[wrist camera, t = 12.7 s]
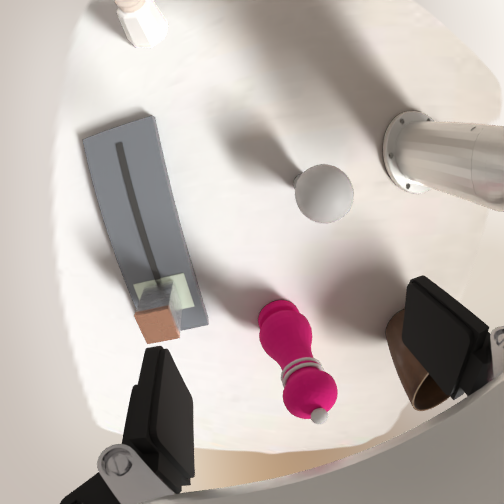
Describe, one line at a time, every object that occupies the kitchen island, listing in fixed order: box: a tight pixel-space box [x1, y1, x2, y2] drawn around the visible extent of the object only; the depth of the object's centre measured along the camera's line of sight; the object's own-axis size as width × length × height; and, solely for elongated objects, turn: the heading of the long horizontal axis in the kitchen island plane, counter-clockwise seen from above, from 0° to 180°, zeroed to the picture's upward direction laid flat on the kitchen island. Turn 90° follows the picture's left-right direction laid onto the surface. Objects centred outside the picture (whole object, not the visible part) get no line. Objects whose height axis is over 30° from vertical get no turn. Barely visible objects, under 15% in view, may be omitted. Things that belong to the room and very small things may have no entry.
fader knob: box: [134, 281, 182, 344], centre depth 34 cm, size 4×4×7 cm
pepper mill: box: [258, 300, 337, 424], centre depth 34 cm, size 7×7×20 cm
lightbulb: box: [293, 164, 354, 223], centre depth 32 cm, size 6×6×11 cm
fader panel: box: [83, 116, 208, 331], centre depth 35 cm, size 9×28×2 cm, turn 11°
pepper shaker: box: [114, 0, 169, 48], centre depth 21 cm, size 5×5×11 cm
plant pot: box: [386, 309, 450, 411], centre depth 42 cm, size 15×15×16 cm
